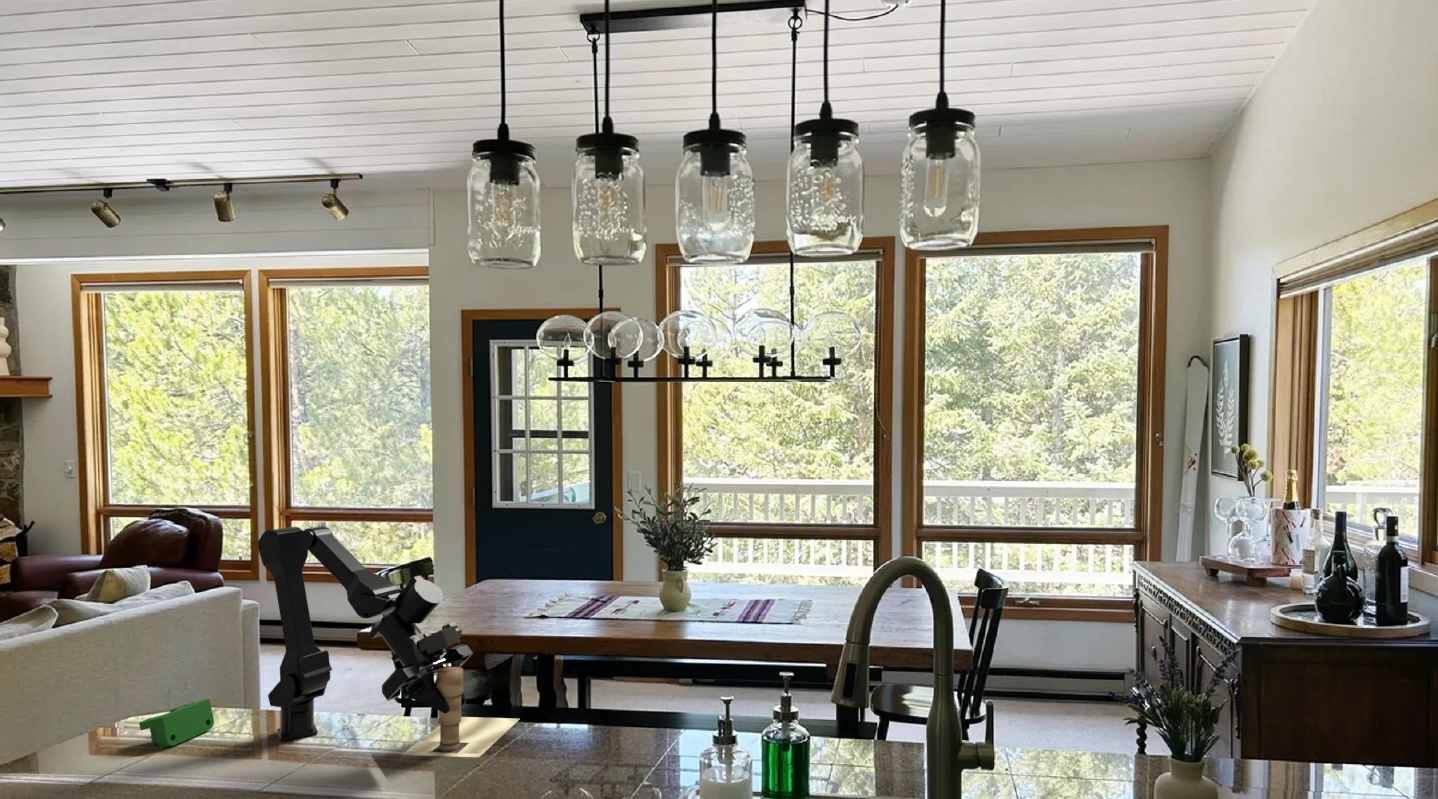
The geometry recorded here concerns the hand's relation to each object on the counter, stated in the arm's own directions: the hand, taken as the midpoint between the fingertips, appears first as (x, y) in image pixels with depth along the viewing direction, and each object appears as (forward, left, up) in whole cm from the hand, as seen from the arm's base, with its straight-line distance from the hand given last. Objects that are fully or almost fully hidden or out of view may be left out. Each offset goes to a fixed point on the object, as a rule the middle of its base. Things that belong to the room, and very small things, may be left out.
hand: (456, 707), depth 150 cm
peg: (-1, -1, -8) cm, 8 cm away
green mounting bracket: (-40, -41, -9) cm, 58 cm away
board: (-6, +3, -9) cm, 11 cm away
